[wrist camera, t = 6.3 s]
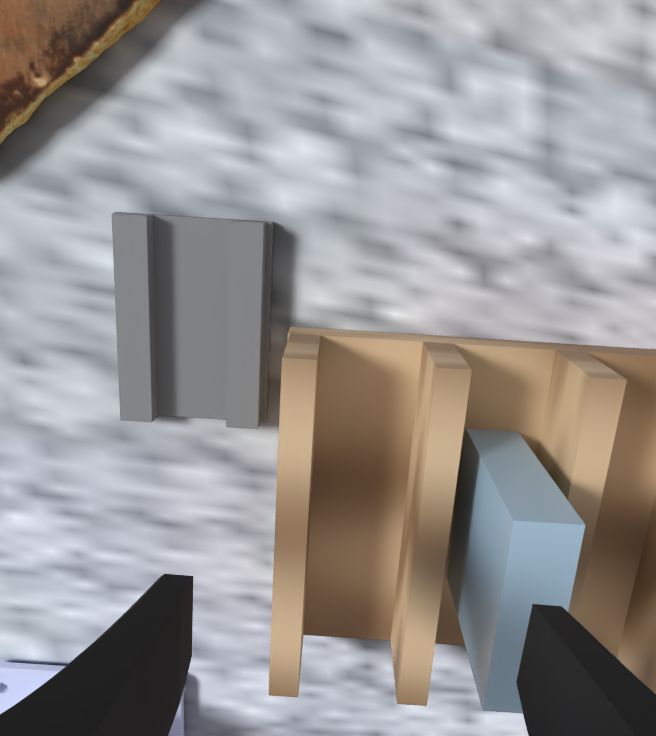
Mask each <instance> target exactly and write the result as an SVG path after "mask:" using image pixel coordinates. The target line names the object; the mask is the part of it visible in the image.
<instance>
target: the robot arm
mask: <svg viewBox="0 0 656 736" xmlns="http://www.w3.org/2000/svg"><path fill="white" fill-rule="evenodd" d="M192 612H193V576H184V575H172V574H164V575H163V576H161V577H160V578H159V579H158V580H157V581H156V582H155V583H154V584H153V585H152V586H151V587H150V588H149V589H148V590H147V591H146V592H145V593H144V594H143V595H142V596H141V597H140V598H139V599H138V601H137V602H136V603H135V604H134V605H133V606H132V607H131V608H130V609H129V610H128V611H127V612H126V613H124V614H123V615H122V616H121V617H120V618H119V619H118V620H117V621H116V622H115V623H114V624H113V625H112V626H111V627H110V628H109V629H108V630H107V631H106V632H104V633H103V634H102V635H101V636H100V637H99V638H98V639H97V640H96V641H95V642H94V643H92V644H91V645H90V646H89V647H88V648H87V649H85V650H84V651H83V652H82V653H81V654H80V655H78V656H77V657H76V658H75V659H74V660H73V661H71V662H70V663H69V664H68V665H67V666H57V665H42V664H27V663H11V662H0V736H184V685H185V681H186V677H187V673H188V669H189V665H190V661H191V657H192ZM3 683H4V684H5V685H4V684H3ZM516 684H517V688H518V693H519V697H520V702H521V706H522V711H523V715H524V719H525V723H526V727H527V731H528V734H529V736H656V694H655V693H654V692H653V691H652V690H651V689H649V688H648V687H647V686H646V685H645V684H644V683H643V682H642V681H640V680H639V679H638V678H637V677H636V676H635V675H634V674H633V673H632V672H631V671H630V670H629V669H627V668H626V667H625V666H624V665H623V664H622V663H621V662H620V661H619V660H618V659H617V658H616V657H615V656H614V655H613V654H611V653H610V652H609V651H608V650H607V649H606V648H605V647H604V646H603V645H602V644H601V643H600V642H599V641H598V640H597V639H596V638H595V637H594V636H593V635H592V634H591V633H590V632H589V631H588V630H587V629H585V628H584V627H583V626H582V625H581V624H580V623H579V622H578V621H577V620H576V619H575V618H574V617H573V616H572V615H571V614H570V613H569V612H567V611H566V610H565V609H564V608H563V607H562V606H552V605H540V604H533V605H532V609H531V614H530V619H529V624H528V628H527V633H526V638H525V643H524V648H523V652H522V657H521V662H520V667H519V671H518V676H517V681H516Z"/></svg>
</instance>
